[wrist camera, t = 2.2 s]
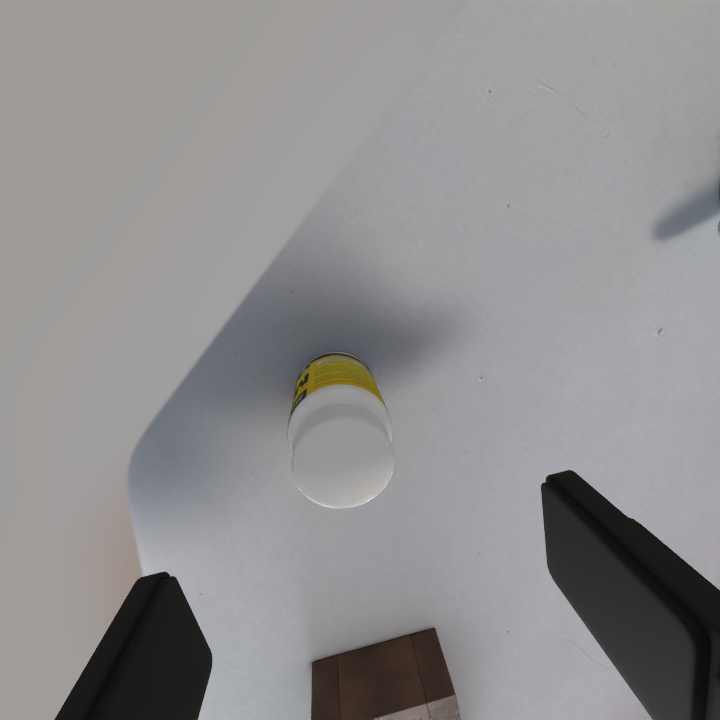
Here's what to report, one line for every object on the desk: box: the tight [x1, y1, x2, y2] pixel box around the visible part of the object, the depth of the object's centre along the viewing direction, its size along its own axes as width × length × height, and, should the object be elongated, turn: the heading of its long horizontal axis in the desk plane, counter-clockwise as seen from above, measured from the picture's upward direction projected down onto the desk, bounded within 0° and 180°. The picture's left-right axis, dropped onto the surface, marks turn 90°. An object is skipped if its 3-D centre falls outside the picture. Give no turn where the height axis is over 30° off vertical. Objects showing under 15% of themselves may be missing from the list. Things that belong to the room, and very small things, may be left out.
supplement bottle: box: [287, 352, 395, 508], centre depth 18 cm, size 5×5×8 cm
